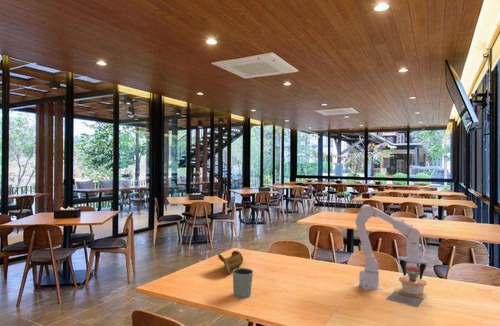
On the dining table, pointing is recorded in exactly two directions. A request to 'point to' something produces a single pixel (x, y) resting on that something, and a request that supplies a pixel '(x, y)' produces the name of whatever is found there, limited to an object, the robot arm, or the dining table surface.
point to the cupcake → (413, 270)
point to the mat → (405, 299)
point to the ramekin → (412, 289)
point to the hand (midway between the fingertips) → (412, 276)
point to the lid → (412, 280)
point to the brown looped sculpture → (232, 260)
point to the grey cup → (242, 282)
